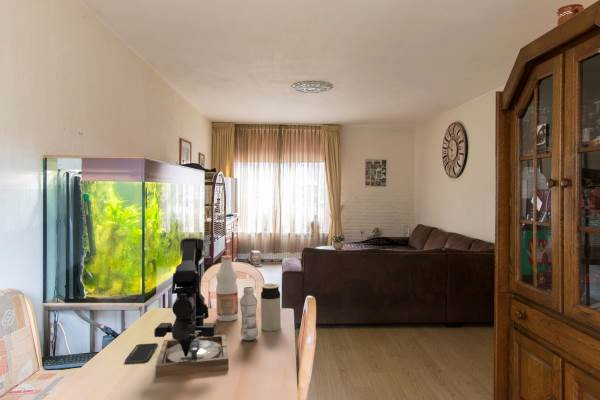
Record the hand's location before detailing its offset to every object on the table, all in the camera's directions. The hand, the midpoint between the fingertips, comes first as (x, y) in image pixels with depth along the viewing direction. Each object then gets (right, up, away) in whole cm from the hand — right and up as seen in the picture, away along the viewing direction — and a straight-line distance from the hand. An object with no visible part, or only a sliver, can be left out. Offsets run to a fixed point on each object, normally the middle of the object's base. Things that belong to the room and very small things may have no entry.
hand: (186, 356), depth 127 cm
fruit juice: (+4, -3, +50) cm, 51 cm away
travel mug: (+25, -3, +37) cm, 44 cm away
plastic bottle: (+17, -4, +25) cm, 30 cm away
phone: (-19, -5, +12) cm, 23 cm away
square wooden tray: (+1, -4, +8) cm, 9 cm away
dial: (0, -2, +8) cm, 8 cm away
